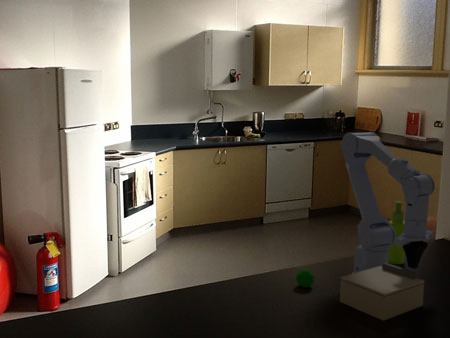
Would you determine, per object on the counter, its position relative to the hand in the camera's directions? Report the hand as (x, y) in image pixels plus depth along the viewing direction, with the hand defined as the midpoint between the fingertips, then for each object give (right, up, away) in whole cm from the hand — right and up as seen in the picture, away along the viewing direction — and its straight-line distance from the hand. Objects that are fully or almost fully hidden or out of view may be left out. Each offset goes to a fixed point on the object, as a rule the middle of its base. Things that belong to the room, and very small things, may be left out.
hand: (412, 267), depth 146 cm
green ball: (-29, -7, +5) cm, 30 cm away
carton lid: (-10, -2, -7) cm, 13 cm away
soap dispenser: (+4, -3, +29) cm, 29 cm away
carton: (-11, -8, -6) cm, 15 cm away
